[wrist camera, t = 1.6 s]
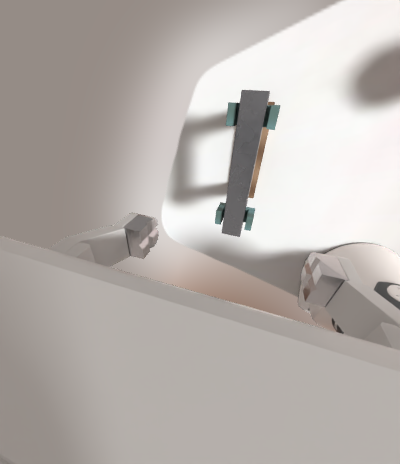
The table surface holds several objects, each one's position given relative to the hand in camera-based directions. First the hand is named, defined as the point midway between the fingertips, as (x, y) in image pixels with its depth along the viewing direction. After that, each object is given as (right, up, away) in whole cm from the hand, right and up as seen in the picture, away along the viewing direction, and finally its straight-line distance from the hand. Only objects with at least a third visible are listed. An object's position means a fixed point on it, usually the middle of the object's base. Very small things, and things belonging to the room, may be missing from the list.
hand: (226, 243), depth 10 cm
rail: (+4, +8, +14) cm, 16 cm away
